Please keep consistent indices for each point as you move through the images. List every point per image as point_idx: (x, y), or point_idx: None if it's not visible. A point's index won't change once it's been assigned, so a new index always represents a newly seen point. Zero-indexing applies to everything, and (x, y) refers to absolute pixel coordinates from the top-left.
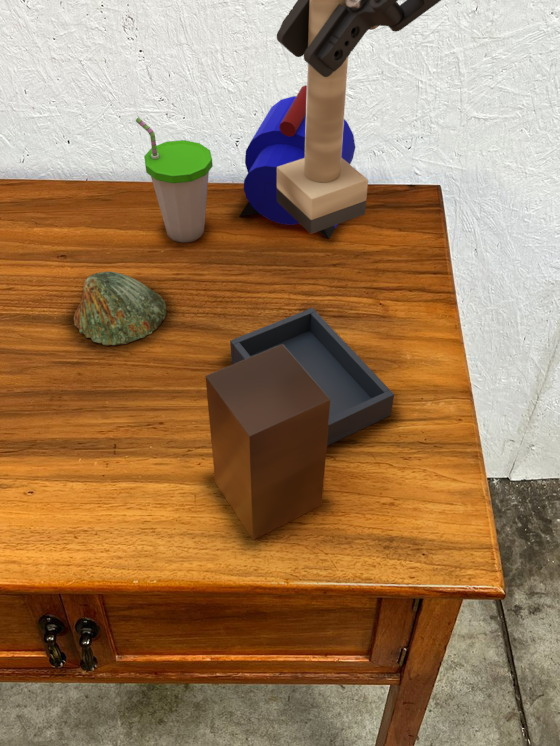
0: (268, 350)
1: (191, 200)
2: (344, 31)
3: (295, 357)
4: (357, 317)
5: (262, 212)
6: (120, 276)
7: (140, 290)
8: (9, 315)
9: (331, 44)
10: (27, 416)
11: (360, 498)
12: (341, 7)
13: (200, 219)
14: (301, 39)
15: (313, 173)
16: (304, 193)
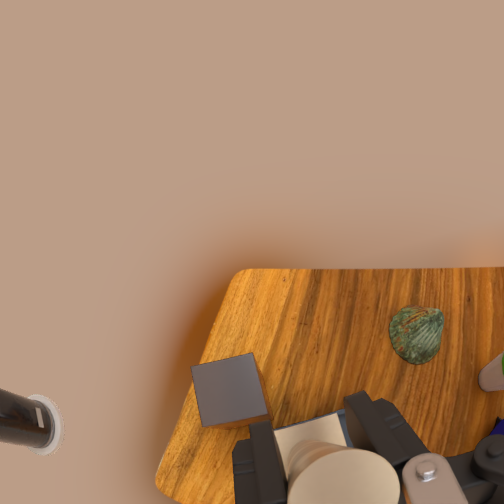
0: (263, 401)
1: (495, 377)
2: (235, 488)
3: (350, 445)
4: None
5: (492, 432)
6: (436, 330)
7: (425, 343)
8: (420, 269)
9: (241, 462)
10: (338, 279)
11: (224, 451)
12: (271, 500)
13: (489, 387)
14: (354, 435)
15: (295, 445)
16: (277, 430)
